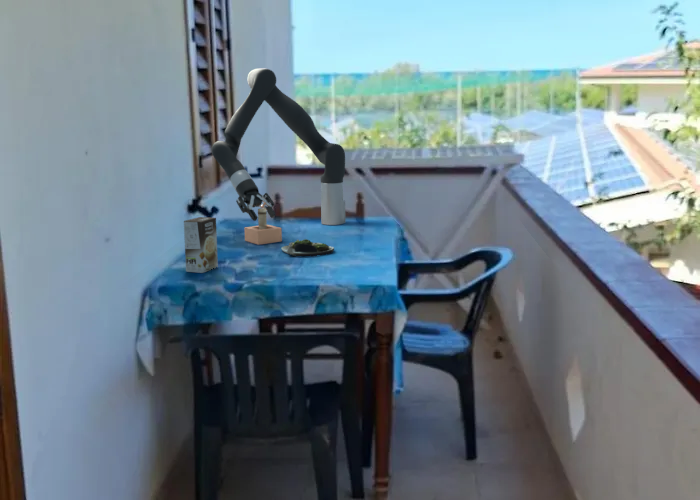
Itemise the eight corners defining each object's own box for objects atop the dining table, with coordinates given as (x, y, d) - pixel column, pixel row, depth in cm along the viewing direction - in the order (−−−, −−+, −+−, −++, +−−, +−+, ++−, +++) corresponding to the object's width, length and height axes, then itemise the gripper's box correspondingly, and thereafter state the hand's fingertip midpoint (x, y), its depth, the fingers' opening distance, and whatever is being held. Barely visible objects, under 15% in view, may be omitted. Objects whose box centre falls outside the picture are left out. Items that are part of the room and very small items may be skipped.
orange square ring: (268, 237, 300) (267, 224, 299) (281, 241, 292) (281, 228, 292) (244, 240, 295) (244, 227, 294) (258, 244, 287) (257, 231, 286)
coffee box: (203, 273, 243) (200, 221, 240) (185, 271, 245) (182, 220, 242) (218, 267, 251) (216, 217, 248) (201, 265, 253) (198, 216, 250)
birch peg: (264, 239, 296) (263, 208, 293) (269, 241, 293) (267, 209, 291) (257, 240, 294) (256, 208, 292) (261, 242, 291) (260, 209, 289)
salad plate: (269, 250, 279) (269, 237, 278) (315, 244, 287) (315, 232, 286) (292, 260, 262) (292, 246, 261) (340, 254, 270) (339, 240, 269)
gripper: (233, 179, 289) (254, 214, 284) (263, 176, 299) (284, 209, 294) (224, 193, 294) (245, 226, 288) (254, 189, 304) (275, 221, 298)
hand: (264, 218), depth 291 cm, fingers open, 8 cm apart
